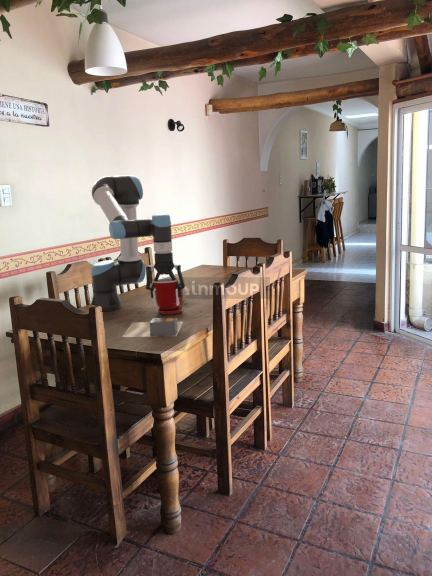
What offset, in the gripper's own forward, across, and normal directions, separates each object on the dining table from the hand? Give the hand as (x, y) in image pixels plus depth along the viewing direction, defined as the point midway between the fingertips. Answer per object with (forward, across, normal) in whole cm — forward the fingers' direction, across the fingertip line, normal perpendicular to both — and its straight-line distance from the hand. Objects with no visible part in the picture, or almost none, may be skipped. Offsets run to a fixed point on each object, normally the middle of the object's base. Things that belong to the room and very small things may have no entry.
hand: (166, 305), depth 202 cm
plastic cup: (+1, 0, 0) cm, 1 cm away
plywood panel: (+10, -5, -6) cm, 13 cm away
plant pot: (+10, -3, +25) cm, 27 cm away
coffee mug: (+10, -3, +49) cm, 50 cm away
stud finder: (+9, 0, -12) cm, 15 cm away
